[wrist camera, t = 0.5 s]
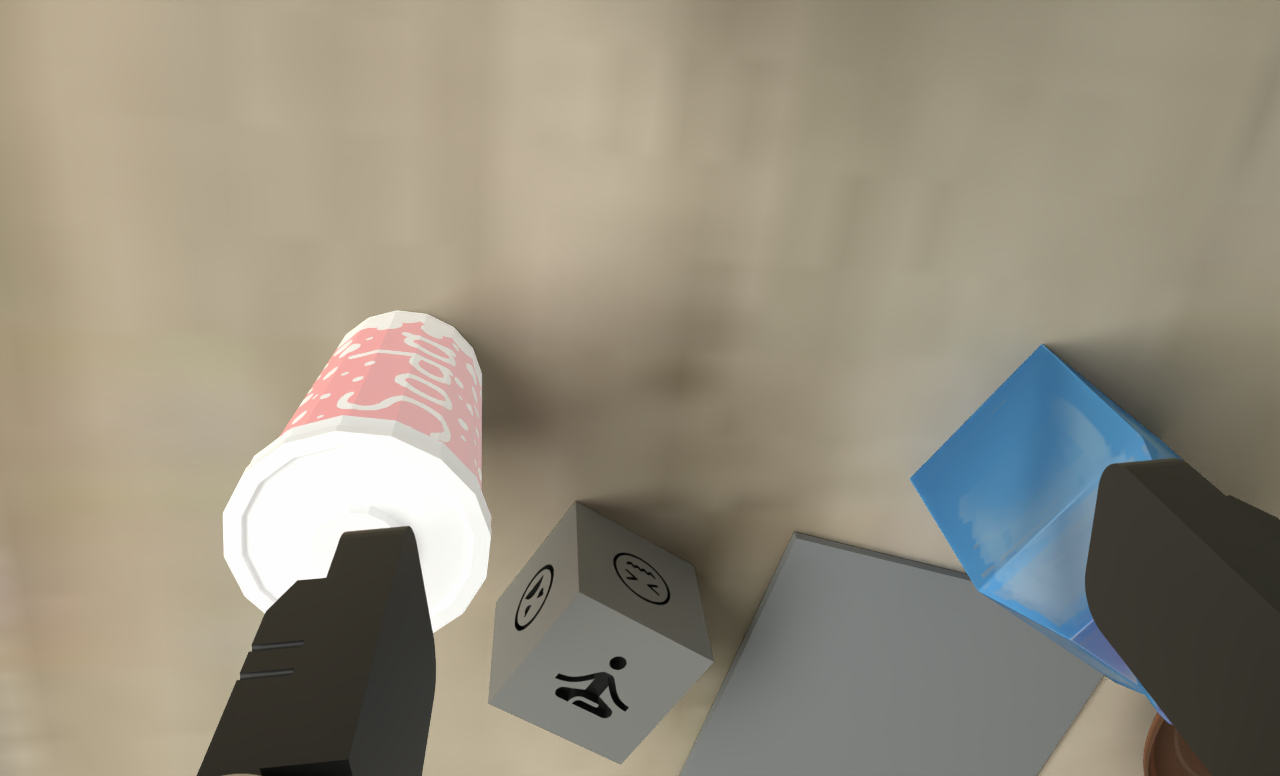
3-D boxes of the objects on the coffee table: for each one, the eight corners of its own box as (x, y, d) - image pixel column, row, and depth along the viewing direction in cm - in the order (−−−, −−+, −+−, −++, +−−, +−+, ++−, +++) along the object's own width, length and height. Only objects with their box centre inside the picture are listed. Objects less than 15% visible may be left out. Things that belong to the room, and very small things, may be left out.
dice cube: (496, 601, 36) (488, 703, 31) (575, 499, 34) (579, 591, 29) (612, 659, 37) (620, 764, 33) (693, 564, 36) (714, 661, 31)
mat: (794, 531, 35) (796, 538, 35) (1134, 615, 38) (1139, 622, 38) (662, 811, 41) (663, 819, 40) (967, 865, 44) (971, 873, 43)
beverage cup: (546, 369, 32) (543, 682, 19) (426, 496, 33) (350, 861, 21) (386, 245, 29) (264, 508, 17) (266, 388, 31) (74, 722, 19)
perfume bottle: (1161, 440, 35) (1433, 686, 24) (1029, 562, 37) (1228, 841, 26) (1041, 344, 33) (1281, 566, 22) (909, 478, 35) (1070, 743, 24)
